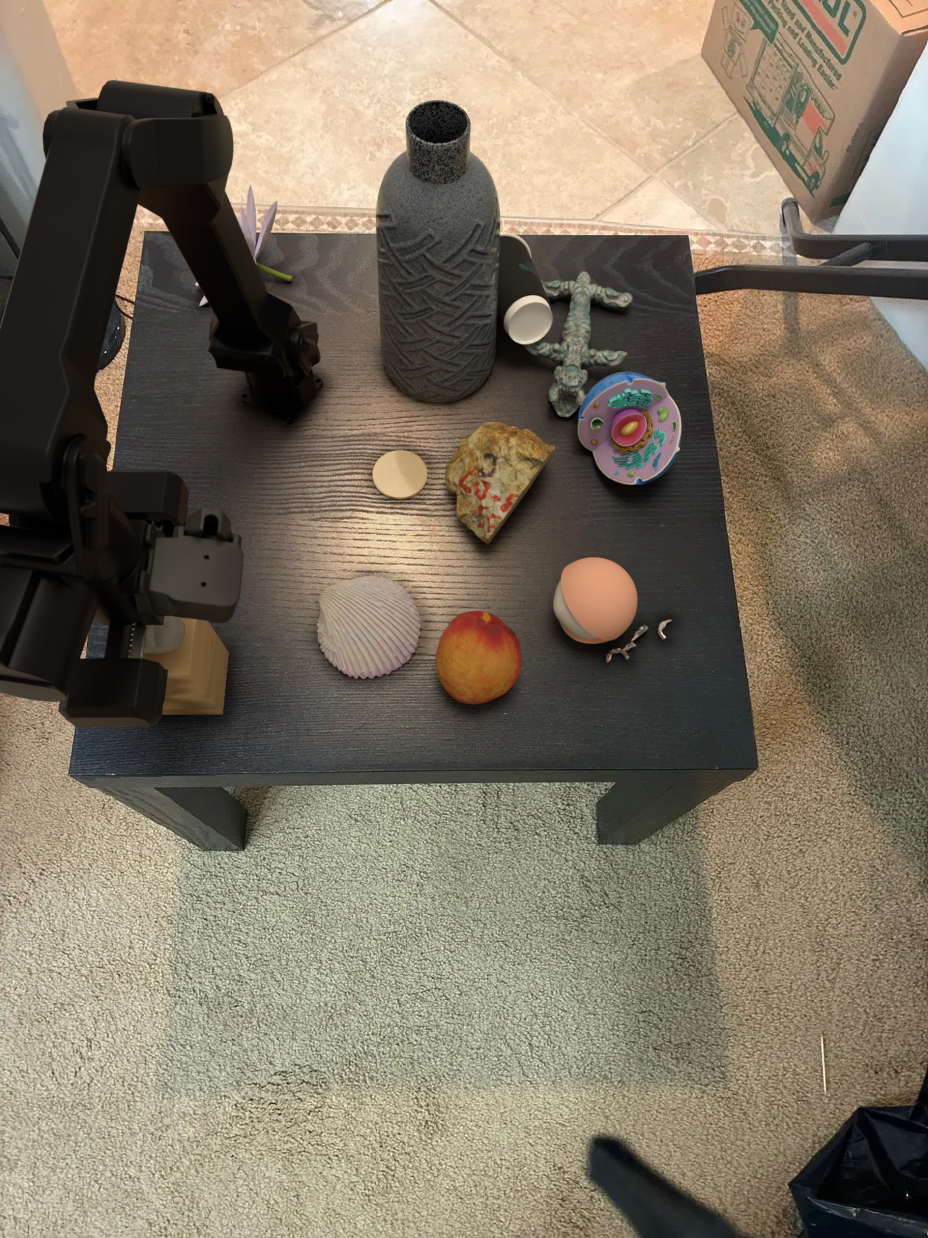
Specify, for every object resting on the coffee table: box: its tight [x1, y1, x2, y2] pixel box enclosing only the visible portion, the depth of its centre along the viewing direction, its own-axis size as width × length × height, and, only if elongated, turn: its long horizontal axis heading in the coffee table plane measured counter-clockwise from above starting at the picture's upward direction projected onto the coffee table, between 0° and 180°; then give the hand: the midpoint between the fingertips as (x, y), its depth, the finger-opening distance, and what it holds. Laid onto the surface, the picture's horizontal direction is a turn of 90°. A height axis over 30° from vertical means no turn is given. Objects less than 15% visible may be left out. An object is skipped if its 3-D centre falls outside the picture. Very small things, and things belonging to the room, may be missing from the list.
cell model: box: [577, 371, 683, 486], centre depth 86 cm, size 10×12×10 cm
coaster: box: [371, 449, 428, 500], centre depth 89 cm, size 6×6×1 cm
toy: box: [605, 619, 672, 664], centre depth 82 cm, size 1×8×2 cm
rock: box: [444, 421, 557, 546], centre depth 86 cm, size 12×9×10 cm
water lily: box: [194, 184, 293, 307], centre depth 95 cm, size 15×15×9 cm
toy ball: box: [552, 556, 638, 645], centre depth 80 cm, size 8×8×8 cm
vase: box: [375, 99, 501, 403], centre depth 81 cm, size 12×12×28 cm
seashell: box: [316, 574, 422, 680], centre depth 81 cm, size 10×6×10 cm
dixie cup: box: [497, 231, 554, 345], centre depth 91 cm, size 8×8×11 cm
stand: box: [128, 618, 230, 716], centre depth 75 cm, size 6×6×12 cm
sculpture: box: [522, 270, 633, 418], centre depth 94 cm, size 11×20×5 cm, turn 171°
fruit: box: [434, 610, 522, 705], centre depth 77 cm, size 8×8×8 cm
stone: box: [129, 616, 186, 654], centre depth 68 cm, size 6×4×4 cm, turn 91°
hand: (162, 636), depth 69 cm, fingers open, 9 cm apart
